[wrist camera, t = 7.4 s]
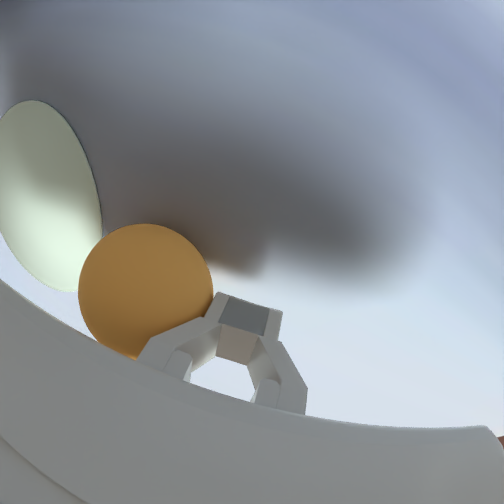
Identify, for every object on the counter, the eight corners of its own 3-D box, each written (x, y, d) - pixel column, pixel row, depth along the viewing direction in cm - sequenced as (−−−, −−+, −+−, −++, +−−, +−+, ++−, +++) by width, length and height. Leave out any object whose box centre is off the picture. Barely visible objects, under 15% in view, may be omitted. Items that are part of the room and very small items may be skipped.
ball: (215, 269, 14) (116, 249, 14) (232, 210, 10) (89, 184, 9) (199, 376, 12) (90, 350, 11) (207, 375, 7) (37, 329, 6)
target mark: (-14, 218, 15) (-15, 219, 15) (9, 71, 9) (7, 72, 9) (80, 319, 17) (78, 321, 17) (138, 177, 11) (136, 178, 11)
